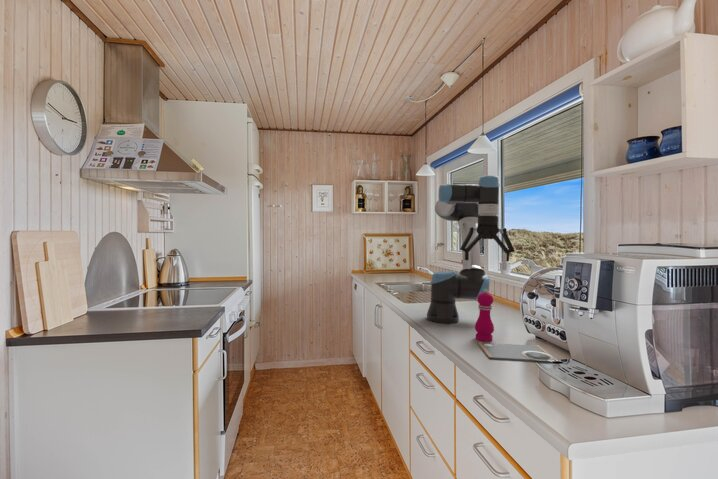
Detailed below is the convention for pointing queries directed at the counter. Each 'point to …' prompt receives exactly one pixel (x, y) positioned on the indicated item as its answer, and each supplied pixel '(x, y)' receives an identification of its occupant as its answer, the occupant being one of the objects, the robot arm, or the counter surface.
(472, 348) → the counter surface
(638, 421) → the counter surface
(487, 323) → the pepper mill
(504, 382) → the counter surface
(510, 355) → the slate
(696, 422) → the counter surface
